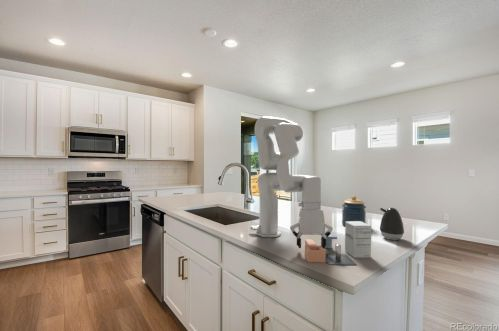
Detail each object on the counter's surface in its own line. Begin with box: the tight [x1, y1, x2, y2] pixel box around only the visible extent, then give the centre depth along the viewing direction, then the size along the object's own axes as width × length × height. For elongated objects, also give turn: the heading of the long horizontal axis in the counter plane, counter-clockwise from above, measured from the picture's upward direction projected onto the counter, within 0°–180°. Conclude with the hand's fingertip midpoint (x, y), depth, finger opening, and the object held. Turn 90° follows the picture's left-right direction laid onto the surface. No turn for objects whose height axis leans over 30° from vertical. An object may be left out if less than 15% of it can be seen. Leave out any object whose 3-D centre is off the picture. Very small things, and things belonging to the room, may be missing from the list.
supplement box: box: [344, 221, 372, 258], centre depth 99 cm, size 7×7×13 cm
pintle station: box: [325, 243, 357, 266], centre depth 93 cm, size 10×10×6 cm
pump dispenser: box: [379, 207, 405, 241], centre depth 120 cm, size 10×10×15 cm
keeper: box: [320, 232, 338, 249], centre depth 105 cm, size 6×6×6 cm
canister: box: [341, 195, 367, 227], centre depth 144 cm, size 13×13×18 cm
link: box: [304, 238, 327, 263], centre depth 98 cm, size 14×6×4 cm, turn 178°
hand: (311, 247), depth 101 cm, fingers open, 9 cm apart
